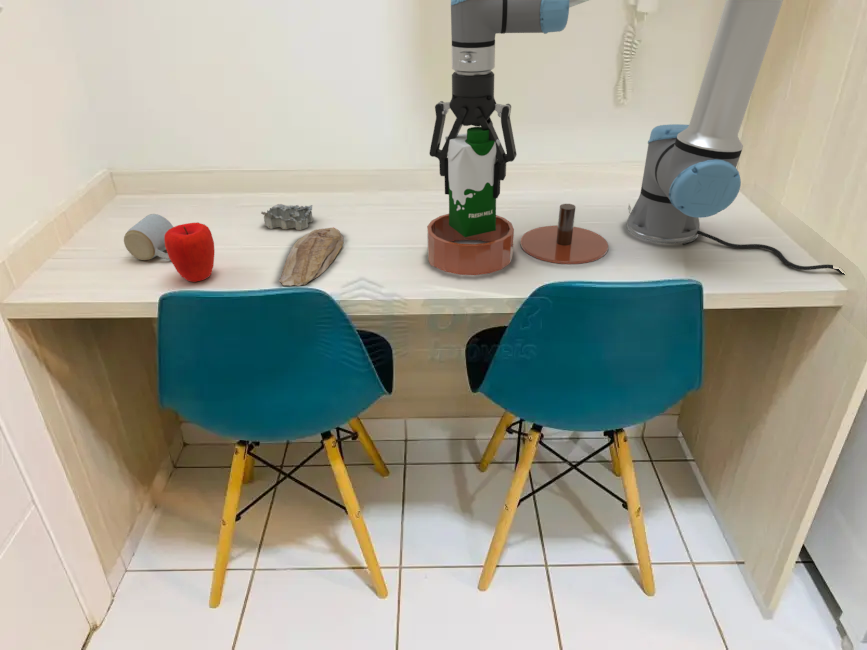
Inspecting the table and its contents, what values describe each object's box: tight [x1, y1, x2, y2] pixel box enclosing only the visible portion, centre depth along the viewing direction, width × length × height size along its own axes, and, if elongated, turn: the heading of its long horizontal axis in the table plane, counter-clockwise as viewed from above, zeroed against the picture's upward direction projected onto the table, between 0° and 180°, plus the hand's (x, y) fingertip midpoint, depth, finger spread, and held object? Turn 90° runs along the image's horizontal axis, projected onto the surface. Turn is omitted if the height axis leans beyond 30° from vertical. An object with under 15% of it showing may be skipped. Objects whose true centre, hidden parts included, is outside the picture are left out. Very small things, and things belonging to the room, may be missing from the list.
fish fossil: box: [278, 227, 344, 287], centre depth 131 cm, size 26×10×1 cm, turn 179°
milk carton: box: [445, 126, 501, 237], centre depth 121 cm, size 9×9×20 cm
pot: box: [426, 213, 515, 276], centre depth 128 cm, size 17×17×7 cm
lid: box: [519, 203, 609, 265], centre depth 131 cm, size 18×18×9 cm
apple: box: [165, 222, 215, 283], centre depth 122 cm, size 9×9×11 cm
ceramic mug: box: [123, 213, 174, 261], centre depth 131 cm, size 11×8×8 cm
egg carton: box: [260, 203, 314, 231], centre depth 146 cm, size 11×8×4 cm
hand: (472, 193), depth 123 cm, fingers closed on milk carton, 9 cm apart
